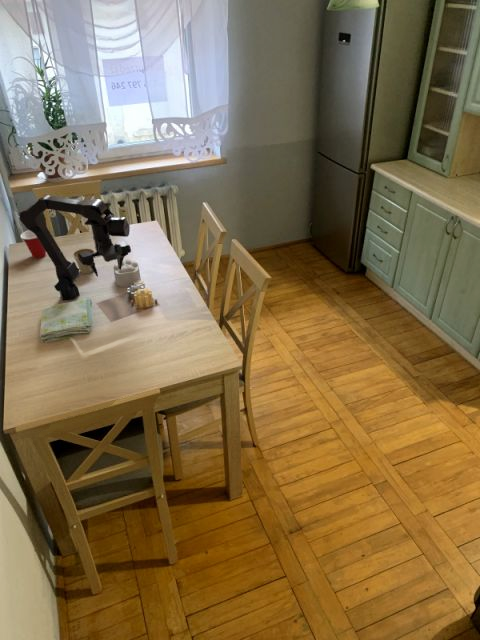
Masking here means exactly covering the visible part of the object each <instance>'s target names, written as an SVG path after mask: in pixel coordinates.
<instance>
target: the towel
mask: <svg viewBox="0 0 480 640" xmlns="http://www.w3.org/2000/svg"><path fill="white" fill-rule="evenodd" d="M41 315H42V316H41V320H40V327H39V338H40V340H41V342H42V343H49V342H55V341H59V340H63V339H64V340H65V339H71V338H74V336H73V335H83V334H90V333H91V332H92V327H93V325H92V323H93V303H92V300H91V298H84V299H78V300H74V301H73V300H72V301H68V302H63V303H58V304H52V305H49V306H44V307H43V308H42V314H41Z"/></svg>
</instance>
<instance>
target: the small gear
mask: <svg viewBox="0 0 480 640" xmlns="http://www.w3.org/2000/svg"><path fill="white" fill-rule="evenodd" d="M137 285H140V286H143V287H144V288H146V282H145V281H144V280H141V281H139V280H138V281H136V282H134V286H137Z"/></svg>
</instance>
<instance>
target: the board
mask: <svg viewBox="0 0 480 640" xmlns="http://www.w3.org/2000/svg"><path fill="white" fill-rule="evenodd" d="M152 299H153V304H150V305H149V306H148V307H146V306H145V307H143V308H142V307H140V306H136V303H135V299H132V298H129V297H128V293H127V292H126V293H123V294H121V295H117V296H113V297H111V298H107V299H105V300H101V301H98V302H96V303H95V304H96V305H97V306H98V308H99V309H100V310H101V311H102V313H103V314H104V315H105V316H106V317H107V319H108V320H109V321H110V322H111V323H112V322H115V321H118V320H120V319H124V318H127V317H129V316H132V315H135V314H137V313H142V312H144V311H146V310H149V309H152V308H153V309H154V308H155V307H158V306H160V303H159V302H158V299H157V298H153V296H152Z"/></svg>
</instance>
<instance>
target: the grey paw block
mask: <svg viewBox="0 0 480 640" xmlns="http://www.w3.org/2000/svg"><path fill="white" fill-rule="evenodd" d="M112 269H113V274H114V275H113V276H114V280H115V283H116V285H117V286H118V287H120V288H123V287H124V288H126V287H129V286H130V287H131V286H133V285H134V282H136V281H138V280H139V281H142V278H141V273H140V266H139V264H138V262H137V261H134V260H132V259H123V262H122V267H121V270H120V269H119V267H118V262H116V263H115V264H114V265H113V268H112Z"/></svg>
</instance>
